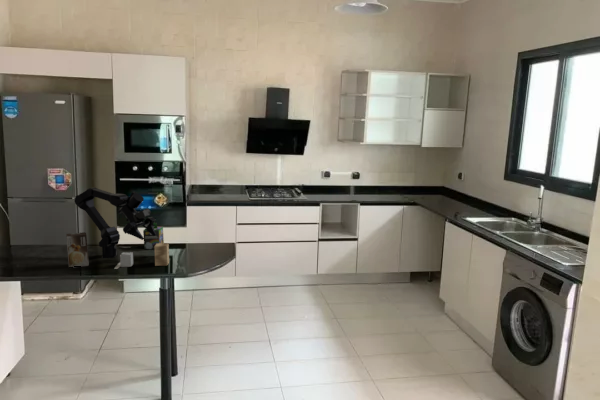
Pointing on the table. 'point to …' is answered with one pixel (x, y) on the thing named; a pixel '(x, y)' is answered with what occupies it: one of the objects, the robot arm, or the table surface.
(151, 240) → the chalk box
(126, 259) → the grey block
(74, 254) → the coffee box
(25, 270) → the table surface
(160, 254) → the oak block
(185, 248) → the table surface
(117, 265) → the plain tile
